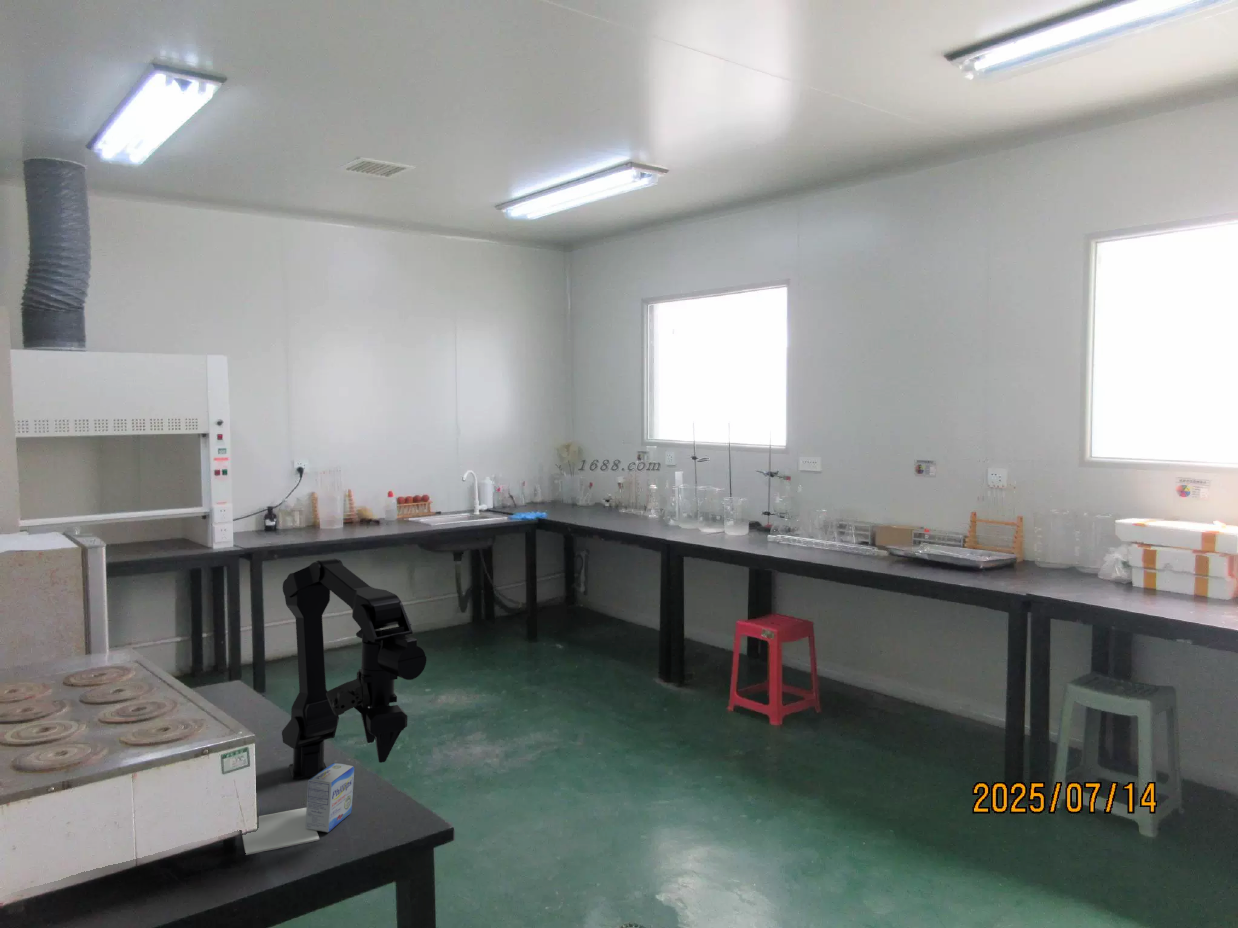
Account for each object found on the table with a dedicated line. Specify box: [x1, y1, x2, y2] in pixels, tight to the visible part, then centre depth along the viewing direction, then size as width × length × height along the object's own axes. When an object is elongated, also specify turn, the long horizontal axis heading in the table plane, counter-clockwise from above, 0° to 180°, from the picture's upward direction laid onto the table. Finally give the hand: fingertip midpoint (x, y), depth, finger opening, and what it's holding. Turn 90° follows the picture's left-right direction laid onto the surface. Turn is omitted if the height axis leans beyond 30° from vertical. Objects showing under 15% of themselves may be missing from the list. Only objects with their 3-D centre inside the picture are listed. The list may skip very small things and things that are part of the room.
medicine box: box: [305, 762, 355, 833], centre depth 144 cm, size 8×4×9 cm, turn 169°
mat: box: [241, 807, 320, 856], centre depth 141 cm, size 12×11×1 cm
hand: (376, 751), depth 148 cm, fingers open, 9 cm apart
